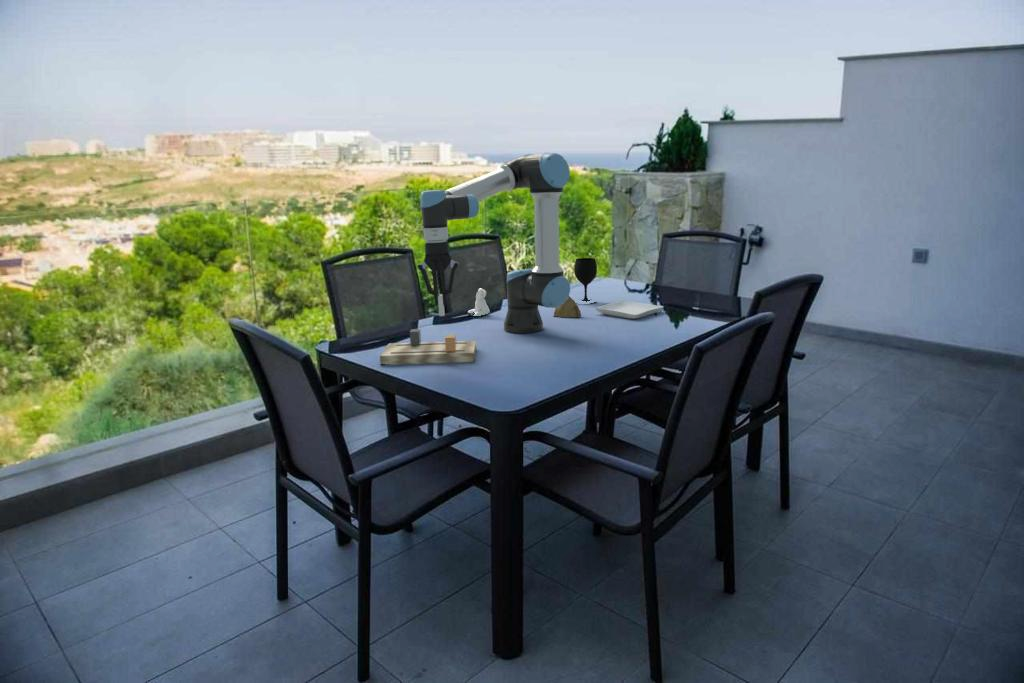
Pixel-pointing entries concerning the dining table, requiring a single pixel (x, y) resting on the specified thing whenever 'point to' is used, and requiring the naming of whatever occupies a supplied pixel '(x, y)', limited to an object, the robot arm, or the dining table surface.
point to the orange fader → (450, 342)
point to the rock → (568, 309)
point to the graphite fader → (415, 337)
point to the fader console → (427, 353)
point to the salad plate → (628, 309)
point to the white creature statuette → (480, 304)
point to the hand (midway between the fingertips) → (442, 315)
